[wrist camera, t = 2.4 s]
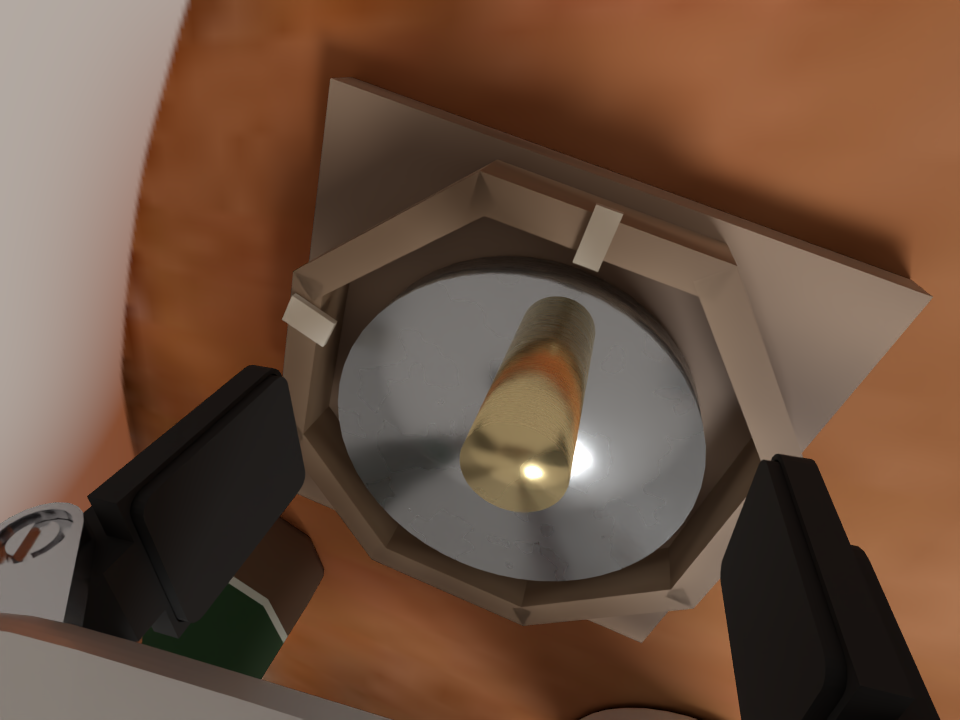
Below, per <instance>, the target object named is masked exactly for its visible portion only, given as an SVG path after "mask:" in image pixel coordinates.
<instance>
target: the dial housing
mask: <svg viewBox="0 0 960 720" xmlns="http://www.w3.org/2000/svg"><path fill="white" fill-rule="evenodd" d="M497 256H517V257H532V258H537V259H543V260H549V261H555V262H558V263H561V264H565V265H568V266H571V267H574V268H578V269H581V270H583V271H585V272H588V273H590V274H592V275H594V276H596V277H599V278H601V279H603V280H605V281H607V282H609V283H610V284H612V285H613V286H615V287H617V288H618V289H620V290H622V291H623V292H625V293H626V294H628V295H629V296H631V297H632V298H633V299H634V300H636V301H637V302H638V303H639V304H640V305H642V306H643V307H644V308H645V309H647V310H648V311H649V312H650V313H651V314H652V315H653V316H654V317H655V318H656V320H657V321H658V322H659V323H660V324H661V325H662V326H663V327H664V328H665V329H666V330H667V332H668V333H669V335H670V336H671V338H672V339H673V340H674V342H675V343H676V345H677V346H678V348H679V349H680V351H681V353H682V355H683V357H684V359H685V361H686V363H687V365H688V367H689V369H690V371H691V374H692V377H693V380H694V383H695V386H696V389H697V393H698V399H699V405H700V411H701V417H702V423H703V430H704V437H705V444H706V458H705V471H704V476H703V481H702V485H701V489H700V492H699V494H698V497H697V499H696V502H695V504H694V506H693V508H692V510H691V511H690V513H689V515H688V516H687V518H686V519H685V521H684V523H683V524H682V525H681V526H680V528H679V529H678V530H677V531H676V532H675V533H674V534H673V535H672V537H671V538H670V539H669V540H667V541H666V542H665V543H664V544H663V545H661V546H660V547H659V548H658V549H657V550H655V551H654V552H652V553H651V554H649V555H648V556H646V557H644V558H643V559H641V560H639V561H638V562H636V563H633V564H631V565H629V566H627V567H624V568H622V569H620V570H617V571H614V572H611V573H607V574H604V575H601V576H596V577H591V578H586V579H580V580H569V581H534V580H525V579H517V578H512V577H507V576H502V575H497V574H494V573H490V572H487V571H483V570H480V569H477V568H474V567H472V566H469V565H466V564H464V563H461V562H459V561H457V560H455V559H453V558H451V557H448V556H446V555H444V554H442V553H440V552H439V551H437V550H435V549H434V548H432V547H430V546H429V545H427V544H425V543H424V542H422V541H421V540H419V539H418V538H417V537H415V536H414V535H412V534H411V533H410V532H408V531H407V530H406V529H405V528H404V527H402V526H401V525H400V524H399V523H398V522H397V521H395V520H394V519H393V518H392V517H391V516H390V515H389V514H388V513H387V512H386V511H385V510H384V509H383V508H382V506H381V505H380V504H379V503H378V502H377V501H376V499H375V498H374V497H373V496H372V494H371V493H370V492H369V490H368V489H367V488H366V486H365V485H364V483H363V481H362V480H361V478H360V477H359V475H358V473H357V472H356V470H355V468H354V466H353V463H352V461H351V459H350V457H349V455H348V452H347V449H346V446H345V443H344V440H343V437H342V432H341V427H340V422H339V412H338V394H339V384H340V379H341V375H342V371H343V367H344V364H345V362H346V359H347V357H348V355H349V353H350V350H351V348H352V346H353V345H354V343H355V342H356V340H357V339H358V337H359V336H360V334H361V332H362V331H363V330H364V329H365V328H366V326H367V325H368V324H369V323H370V322H371V321H372V320H373V319H374V318H375V317H376V316H377V315H378V314H379V313H380V312H381V311H382V310H383V309H384V308H385V307H386V306H387V305H388V304H389V303H390V302H392V301H393V300H394V299H395V298H396V297H397V296H398V295H399V294H400V293H402V292H403V291H404V290H405V289H407V288H408V287H409V286H411V285H412V284H413V283H414V282H416V281H418V280H419V279H421V278H423V277H425V276H427V275H428V274H430V273H432V272H434V271H436V270H439V269H442V268H444V267H447V266H449V265H452V264H455V263H459V262H463V261H468V260H472V259H477V258H485V257H497ZM932 298H933V297H932V296H931V295H930V294H928V293H927V292H926V291H925V290H923V289H922V288H921V287H920V286H918V285H917V284H916V283H915V282H914V281H912V280H910V279H908V278H905V277H902V276H899V275H896V274H894V273H891V272H888V271H885V270H883V269H880V268H877V267H874V266H872V265H869V264H866V263H863V262H861V261H858V260H855V259H852V258H850V257H847V256H844V255H841V254H838V253H836V252H833V251H830V250H827V249H825V248H822V247H819V246H816V245H814V244H811V243H808V242H805V241H803V240H800V239H797V238H794V237H792V236H789V235H786V234H783V233H780V232H778V231H775V230H772V229H769V228H767V227H764V226H761V225H758V224H756V223H753V222H750V221H747V220H745V219H742V218H739V217H736V216H734V215H731V214H728V213H725V212H723V211H720V210H717V209H714V208H711V207H709V206H706V205H703V204H700V203H698V202H695V201H692V200H689V199H687V198H684V197H681V196H678V195H676V194H673V193H670V192H667V191H665V190H662V189H659V188H656V187H653V186H651V185H648V184H645V183H642V182H640V181H637V180H634V179H631V178H629V177H626V176H623V175H620V174H618V173H615V172H612V171H609V170H607V169H604V168H601V167H598V166H596V165H593V164H590V163H587V162H584V161H582V160H579V159H576V158H573V157H571V156H568V155H565V154H562V153H560V152H557V151H554V150H551V149H549V148H546V147H543V146H540V145H538V144H535V143H532V142H529V141H526V140H524V139H521V138H518V137H515V136H513V135H510V134H507V133H504V132H502V131H499V130H496V129H493V128H491V127H488V126H485V125H482V124H480V123H477V122H474V121H471V120H469V119H466V118H463V117H460V116H457V115H455V114H452V113H449V112H446V111H444V110H441V109H438V108H435V107H433V106H430V105H427V104H424V103H422V102H419V101H416V100H413V99H411V98H408V97H405V96H402V95H399V94H397V93H394V92H391V91H388V90H386V89H383V88H380V87H377V86H375V85H372V84H369V83H366V82H364V81H361V80H358V79H355V78H353V77H343V78H330V86H329V95H328V103H327V112H326V121H325V129H324V138H323V146H322V155H321V163H320V172H319V181H318V189H317V198H316V206H315V215H314V223H313V232H312V241H311V249H310V258H309V262H308V263H307V264H305V265H303V266H302V267H300V268H298V269H296V270H295V271H293V279H292V289H291V299H290V302H289V304H288V306H287V309H286V311H285V313H284V316H283V318H282V320H283V321H285V322H286V323H288V329H287V339H286V349H285V359H284V369H283V377H284V378H285V379H286V380H287V382H288V386H289V391H290V396H291V401H292V406H293V412H294V417H295V422H296V427H297V432H298V437H299V442H300V447H301V452H302V457H303V462H304V467H305V480H304V483H303V486H302V487H301V489H300V490H299V492H298V493H297V494H299V495H301V496H304V497H306V498H308V499H311V500H313V501H315V502H317V503H320V504H322V505H324V506H327V507H329V508H331V509H334V510H336V512H337V513H338V514H339V516H340V517H341V519H342V520H343V521H344V523H345V524H346V525H347V527H348V528H349V529H350V531H351V532H352V533H353V535H354V536H355V537H356V539H357V540H358V541H359V543H360V544H361V546H362V547H363V548H364V550H365V551H366V552H367V554H368V555H369V556H370V558H371V559H372V560H374V561H377V562H379V563H381V564H383V565H386V566H388V567H390V568H392V569H395V570H397V571H399V572H402V573H404V574H406V575H408V576H411V577H413V578H415V579H418V580H420V581H422V582H424V583H427V584H429V585H431V586H433V587H436V588H438V589H440V590H443V591H445V592H447V593H449V594H452V595H454V596H456V597H459V598H461V599H463V600H465V601H468V602H470V603H472V604H475V605H477V606H479V607H481V608H484V609H486V610H488V611H490V612H493V613H495V614H497V615H500V616H502V617H504V618H506V619H509V620H511V621H513V622H516V623H518V624H520V625H522V626H526V625H536V624H546V623H556V622H566V621H575V620H585V619H587V620H590V621H592V622H594V623H597V624H599V625H601V626H604V627H606V628H608V629H611V630H613V631H615V632H617V633H620V634H622V635H624V636H627V637H629V638H631V639H634V640H636V641H638V642H641V643H642V642H643V641H644V640H645V638H646V637H647V636H648V635H649V634H650V632H651V631H652V630H653V629H654V628H655V627H656V625H657V624H658V623H659V622H660V621H661V619H662V618H663V617H664V616H665V615H666V613H667V612H668V611H674V610H684V609H693V608H694V607H695V606H696V605H697V604H698V603H699V602H700V601H701V599H702V598H703V597H704V596H705V595H706V594H707V593H708V591H709V590H710V589H711V588H712V587H713V586H714V585H715V584H716V582H717V581H718V580H719V579H720V571H721V563H722V559H723V557H724V554H725V551H726V549H727V546H728V543H729V541H730V538H731V536H732V533H733V530H734V528H735V525H736V523H737V520H738V517H739V515H740V512H741V509H742V507H743V504H744V502H745V499H746V496H747V494H748V491H749V489H750V486H751V483H752V481H753V478H754V476H755V473H756V470H757V468H758V465H759V463H760V462H761V460H770V461H771V459H772V457H773V456H774V455H775V454H784V455H789V456H795V457H801V458H803V456H802V452H803V451H804V450H805V448H806V447H807V446H808V445H809V444H810V443H811V441H812V440H813V439H814V438H815V437H816V435H817V434H818V433H819V432H820V431H821V429H822V428H823V427H824V426H825V425H826V424H827V422H828V421H829V420H830V419H831V418H832V416H833V415H834V414H835V413H836V412H837V410H838V409H839V408H840V407H841V406H842V405H843V403H844V402H845V401H846V400H847V399H848V397H849V396H850V395H851V394H852V393H853V391H854V390H855V389H856V388H857V387H858V386H859V384H860V383H861V382H862V381H863V380H864V378H865V377H866V376H867V375H868V374H869V372H870V371H871V370H872V369H873V368H874V367H875V365H876V364H877V363H878V362H879V361H880V359H881V358H882V357H883V356H884V355H885V354H886V352H887V351H888V350H889V349H890V348H891V346H892V345H893V344H894V343H895V342H896V340H897V339H898V338H899V337H900V336H901V335H902V333H903V332H904V331H905V330H906V329H907V327H908V326H909V325H910V324H911V323H912V321H913V320H914V319H915V318H916V317H917V316H918V314H919V313H920V312H921V311H922V310H923V308H924V307H925V306H926V305H927V304H928V302H929V301H930V300H931V299H932Z"/></svg>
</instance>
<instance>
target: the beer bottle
mask: <svg viewBox="0 0 960 720" xmlns="http://www.w3.org/2000/svg"><path fill="white" fill-rule="evenodd" d="M323 576H324V569H323V566H322V564H321V562H320V560H319V557H318V555H317V553H316V551H315V549H314V546H313V544H312V542H311V540H310V537H308V536H307V535H305V534H304V533H303V532H301V531H300V530H298V529H297V528H295V527H294V526H292V525H291V524H289V523H288V522H286V521H285V520H283V519H282V518H280V517H279V518H278V519H277V520H276V522H275V523H274V524H273V526H272V527H271V528H270V529H269V531H268V532H267V533H266V535H265V536H264V537H263V539H262V540H261V541H260V543H259V544H258V545H257V546H256V548H255V549H254V550H253V552H252V553H251V554H250V556H249V557H248V558H247V559H246V561H245V562H244V563H243V565H242V566H241V567H240V569H239V570H238V571H237V572H236V574H235V575H234V576H233V578H232V579H231V580H230V582H229V583H228V584H227V586H226V587H225V588H224V589H223V591H222V592H221V593H220V595H219V596H218V597H217V599H216V600H215V601H214V602H213V604H212V605H211V606H210V608H209V609H208V610H207V612H206V613H205V614H204V615H203V616H202V618H201V619H200V620H198V621H197V622H194V623H190V625H189V626H188V627H187V629H186V630H185V631H184V632H183V634H182V635H181V636H180V638H179V639H178V638H175V637H171V636H168V635H165V634H161V633H158V632H154V630H153V628H152V626H151V627H150V628H149V630H148V631H147V632H146V633H145V634H144V636H143V637H142V644H144V645H148V646H151V647H154V648H158V649H161V650H164V651H168V652H171V653H174V654H178V655H181V656H184V657H188V658H191V659H194V660H198V661H201V662H204V663H208V664H211V665H214V666H218V667H221V668H224V669H228V670H231V671H234V672H238V673H241V674H244V675H248V676H251V677H254V678H258V679H262V677H263V675H264V674H265V672H266V671H267V669H268V667H269V666H270V664H271V662H272V661H273V659H274V658H275V656H276V654H277V653H278V651H279V650H280V648H281V646H282V645H283V643H284V642H285V640H286V638H287V637H288V635H289V634H290V632H291V630H292V629H293V627H294V625H295V624H296V622H297V621H298V619H299V617H300V616H301V614H302V613H303V611H304V609H305V608H306V606H307V605H308V603H309V601H310V600H311V598H312V596H313V594H314V592H315V590H316V589H317V587H318V585H319V583H320V581H321V579H322V578H323Z"/></svg>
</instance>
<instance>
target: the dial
mask: <svg viewBox="0 0 960 720" xmlns="http://www.w3.org/2000/svg"><path fill="white" fill-rule="evenodd" d="M338 412H339V422H340V427H341V432H342V437H343V440H344V443H345V446H346V449H347V452H348V455H349V457H350V459H351V461H352V463H353V466H354V468H355V470H356V472H357V473H358V475H359V477H360V478H361V480H362V481H363V483H364V485H365V486H366V488H367V489H368V490H369V492H370V493H371V494H372V496H373V497H374V498H375V499H376V501H377V502H378V503H379V504H380V505H381V506H382V508H383V509H384V510H385V511H386V512H387V513H388V514H389V515H390V516H391V517H392V518H393V519H394V520H395V521H397V522H398V523H399V524H400V525H401V526H402V527H404V528H405V529H406V530H407V531H408V532H410V533H411V534H412V535H414V536H415V537H417V538H418V539H419V540H421V541H422V542H424V543H425V544H427V545H429V546H430V547H432V548H434V549H435V550H437V551H439V552H440V553H442V554H444V555H446V556H448V557H451V558H453V559H455V560H457V561H459V562H461V563H464V564H466V565H469V566H472V567H474V568H477V569H480V570H483V571H487V572H490V573H494V574H497V575H502V576H507V577H512V578H517V579H525V580H534V581H569V580H580V579H586V578H591V577H596V576H601V575H604V574H607V573H611V572H614V571H617V570H620V569H622V568H624V567H627V566H629V565H631V564H633V563H636V562H638V561H639V560H641V559H643V558H644V557H646V556H648V555H649V554H651V553H652V552H654V551H655V550H657V549H658V548H659V547H660V546H661V545H663V544H664V543H665V542H666V541H667V540H669V539H670V538H671V537H672V535H673V534H674V533H675V532H676V531H677V530H678V529H679V528H680V526H681V525H682V524H683V523H684V521H685V519H686V518H687V516H688V515H689V513H690V511H691V510H692V508H693V506H694V504H695V502H696V499H697V497H698V494H699V492H700V489H701V485H702V481H703V476H704V471H705V458H706V444H705V437H704V430H703V423H702V417H701V411H700V405H699V399H698V393H697V389H696V386H695V383H694V380H693V377H692V374H691V371H690V369H689V367H688V365H687V363H686V361H685V359H684V357H683V355H682V353H681V351H680V349H679V348H678V346H677V345H676V343H675V342H674V340H673V339H672V338H671V336H670V335H669V333H668V332H667V330H666V329H665V328H664V327H663V326H662V325H661V324H660V323H659V322H658V321H657V320H656V318H655V317H654V316H653V315H652V314H651V313H650V312H649V311H648V310H647V309H645V308H644V307H643V306H642V305H640V304H639V303H638V302H637V301H636V300H634V299H633V298H632V297H631V296H629V295H628V294H626V293H625V292H623V291H622V290H620V289H618V288H617V287H615V286H613V285H612V284H610V283H609V282H607V281H605V280H603V279H601V278H599V277H596V276H594V275H592V274H590V273H588V272H585V271H583V270H581V269H578V268H574V267H571V266H568V265H565V264H561V263H558V262H555V261H549V260H543V259H537V258H532V257H517V256H497V257H485V258H477V259H472V260H468V261H463V262H459V263H455V264H452V265H449V266H447V267H444V268H442V269H439V270H436V271H434V272H432V273H430V274H428V275H427V276H425V277H423V278H421V279H419V280H418V281H416V282H414V283H413V284H412V285H411V286H409V287H408V288H407V289H405V290H404V291H403V292H402V293H400V294H399V295H398V296H397V297H396V298H395V299H394V300H393V301H392V302H390V303H389V304H388V305H387V306H386V307H385V308H384V309H383V310H382V311H381V312H380V313H379V314H378V315H377V316H376V317H375V318H374V319H373V320H372V321H371V322H370V323H369V324H368V325H367V326H366V328H365V329H364V330H363V331H362V332H361V334H360V336H359V337H358V339H357V340H356V342H355V343H354V345H353V346H352V348H351V350H350V353H349V355H348V357H347V359H346V362H345V364H344V367H343V371H342V375H341V379H340V384H339V394H338Z"/></svg>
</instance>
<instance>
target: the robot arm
mask: <svg viewBox="0 0 960 720" xmlns="http://www.w3.org/2000/svg"><path fill="white" fill-rule="evenodd" d="M304 480H305V467H304V462H303V457H302V452H301V447H300V442H299V437H298V432H297V427H296V422H295V417H294V412H293V406H292V401H291V396H290V391H289V386H288V382H287V380H286V379H285V378H284V377H282V375H281V373H280V372H279V370H277V369H273V368H267V367H262V366H256V365H249V366H247V367H246V368H244V369H243V370H242V371H241V372H239V373H238V374H237V375H236V376H234V377H233V378H232V379H231V380H229V381H228V382H227V383H226V384H225V385H223V386H222V387H221V388H220V389H218V390H217V391H216V392H215V393H214V394H212V395H211V396H210V397H209V398H207V399H206V400H205V401H204V402H202V403H201V404H200V405H199V406H198V407H196V408H195V409H194V410H193V411H191V412H190V413H189V414H188V415H186V416H185V417H184V418H183V419H182V420H180V421H179V422H178V423H177V424H175V425H174V426H173V427H172V428H171V429H169V430H168V431H167V432H166V433H164V434H163V435H162V436H161V437H159V438H158V439H157V440H156V441H155V442H153V443H152V444H151V445H150V446H148V447H147V448H146V449H145V450H143V451H142V452H141V453H140V454H139V455H137V456H136V457H135V458H134V459H132V460H131V461H130V462H129V463H128V464H126V465H125V466H124V467H123V468H122V469H120V470H119V471H118V472H116V473H115V474H114V475H113V476H112V477H110V478H109V479H108V480H107V481H105V482H104V483H103V484H102V485H101V486H99V487H98V488H97V489H96V490H94V491H93V492H92V493H91V494H89V495H88V496H87V497H88V499H89V501H90V503H91V505H92V506H91V507H90V508H89V509H88V510H86V511H85V512H84V513H83V512H82V511H81V510H80V508H79V507H78V506H75V505H73V504H70V503H56V502H55V503H49V504H44V505H39V506H36V507H33V508H30V509H27V510H24V511H22V512H20V513H18V514H16V515H14V516H12V517H10V518H8V519H7V520H5V521H4V522H2V523H1V524H0V720H392V719H389V718H385V717H382V716H379V715H376V714H372V713H369V712H366V711H363V710H359V709H356V708H353V707H349V706H346V705H343V704H340V703H336V702H333V701H330V700H327V699H323V698H320V697H317V696H313V695H310V694H307V693H304V692H300V691H297V690H294V689H291V688H287V687H284V686H281V685H277V684H274V683H271V682H268V681H264V680H261V679H258V678H254V677H251V676H248V675H244V674H241V673H238V672H234V671H231V670H228V669H224V668H221V667H218V666H214V665H211V664H208V663H204V662H201V661H198V660H194V659H191V658H188V657H184V656H181V655H178V654H174V653H171V652H168V651H164V650H161V649H158V648H154V647H151V646H148V645H144V644H142V637H143V636H144V634H145V633H146V632H147V631H148V630H149V628H150V627H151V626H152V628H153V630H154V632H158V633H161V634H165V635H168V636H171V637H175V638H178V639H179V638H180V636H181V635H182V634H183V632H184V631H185V630H186V629H187V627H188V626H189V625H190V623H194V622H197V621H198V620H200V619H201V618H202V616H203V615H204V614H205V613H206V612H207V610H208V609H209V608H210V606H211V605H212V604H213V602H214V601H215V600H216V599H217V597H218V596H219V595H220V593H221V592H222V591H223V589H224V588H225V587H226V586H227V584H228V583H229V582H230V580H231V579H232V578H233V576H234V575H235V574H236V572H237V571H238V570H239V569H240V567H241V566H242V565H243V563H244V562H245V561H246V559H247V558H248V557H249V556H250V554H251V553H252V552H253V550H254V549H255V548H256V546H257V545H258V544H259V543H260V541H261V540H262V539H263V537H264V536H265V535H266V533H267V532H268V531H269V529H270V528H271V527H272V526H273V524H274V523H275V522H276V520H277V519H278V518H279V516H280V515H281V514H282V513H283V511H284V510H285V509H286V507H287V506H288V505H289V503H290V502H291V501H292V500H293V498H294V497H295V496H296V494H297V493H298V492H299V490H300V489H301V487H302V486H303V483H304ZM720 579H721V586H722V593H723V600H724V607H725V613H726V620H727V627H728V633H729V640H730V647H731V653H732V660H733V667H734V674H735V680H736V687H737V694H738V700H739V707H740V714H741V720H940V718H939V716H938V714H937V711H936V709H935V707H934V705H933V702H932V700H931V698H930V696H929V693H928V691H927V689H926V687H925V684H924V682H923V680H922V678H921V675H920V673H919V671H918V669H917V666H916V664H915V662H914V660H913V657H912V655H911V653H910V651H909V648H908V646H907V644H906V642H905V639H904V637H903V635H902V633H901V630H900V628H899V626H898V624H897V621H896V619H895V617H894V615H893V612H892V610H891V608H890V606H889V603H888V601H887V599H886V597H885V594H884V592H883V590H882V588H881V585H880V583H879V581H878V579H877V576H876V574H875V572H874V570H873V567H872V565H871V563H870V561H869V559H868V557H867V555H866V554H865V552H864V551H863V550H862V549H861V548H859V547H858V546H854V545H850V543H849V540H848V538H847V535H846V533H845V531H844V528H843V526H842V524H841V521H840V519H839V516H838V514H837V512H836V509H835V507H834V505H833V502H832V500H831V497H830V495H829V493H828V490H827V488H826V485H825V483H824V481H823V478H822V476H821V474H820V471H819V469H818V466H817V464H816V463H815V461H814V460H812V459H807V458H801V457H795V456H789V455H784V454H775V455H774V456H773V457H772V459H771V461H770V460H761V462H760V463H759V465H758V468H757V470H756V473H755V476H754V478H753V481H752V483H751V486H750V489H749V491H748V494H747V496H746V499H745V502H744V504H743V507H742V509H741V512H740V515H739V517H738V520H737V523H736V525H735V528H734V530H733V533H732V536H731V538H730V541H729V543H728V546H727V549H726V551H725V554H724V557H723V559H722V563H721V571H720ZM580 720H698V719H695V718H692V717H689V716H685V715H681V714H677V713H673V712H669V711H663V710H655V709H648V708H618V709H608V710H604V711H600V712H596V713H592V714H590V715H588V716H586V717H584V718H582V719H580Z"/></svg>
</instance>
